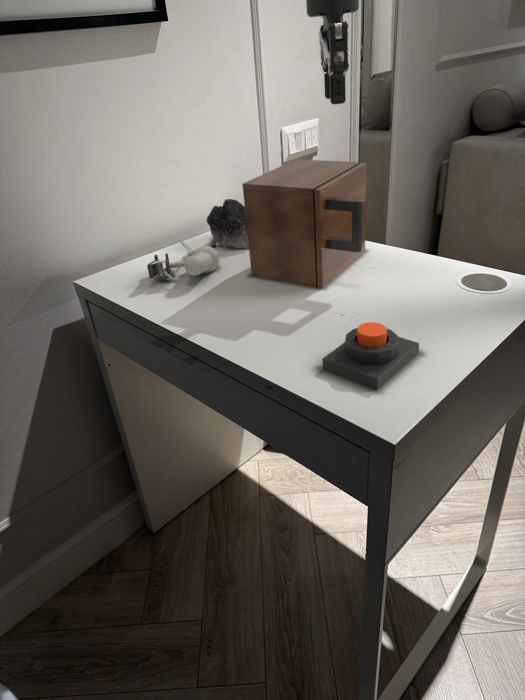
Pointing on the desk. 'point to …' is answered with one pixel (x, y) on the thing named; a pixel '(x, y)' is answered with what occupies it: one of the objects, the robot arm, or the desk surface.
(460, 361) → the desk surface
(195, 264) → the clip-on lamp
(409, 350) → the button box
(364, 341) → the release button
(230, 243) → the crystal cluster
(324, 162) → the cabinet
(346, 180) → the cabinet door
